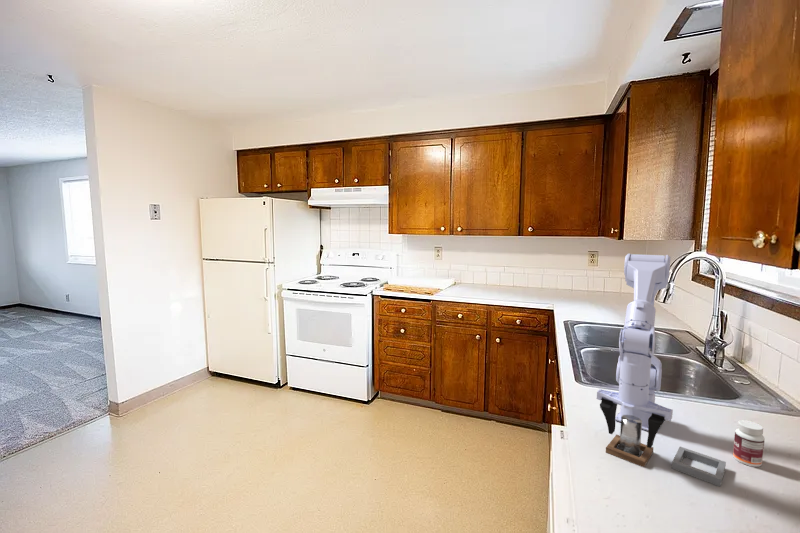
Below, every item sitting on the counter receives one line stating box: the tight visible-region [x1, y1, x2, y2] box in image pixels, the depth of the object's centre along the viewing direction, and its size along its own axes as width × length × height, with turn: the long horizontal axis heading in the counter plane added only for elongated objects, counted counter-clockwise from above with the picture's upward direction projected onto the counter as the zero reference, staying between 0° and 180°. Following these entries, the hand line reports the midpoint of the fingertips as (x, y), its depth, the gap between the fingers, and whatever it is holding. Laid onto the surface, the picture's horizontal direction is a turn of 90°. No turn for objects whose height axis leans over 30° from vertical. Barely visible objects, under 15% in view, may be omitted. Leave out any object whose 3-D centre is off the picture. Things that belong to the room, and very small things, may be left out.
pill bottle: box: [732, 419, 765, 468], centre depth 83 cm, size 5×5×8 cm
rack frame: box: [671, 446, 727, 487], centre depth 81 cm, size 8×8×2 cm
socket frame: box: [605, 434, 654, 468], centre depth 87 cm, size 8×8×1 cm
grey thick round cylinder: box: [618, 415, 643, 457], centre depth 86 cm, size 4×4×8 cm
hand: (630, 438), depth 86 cm, fingers open, 7 cm apart
